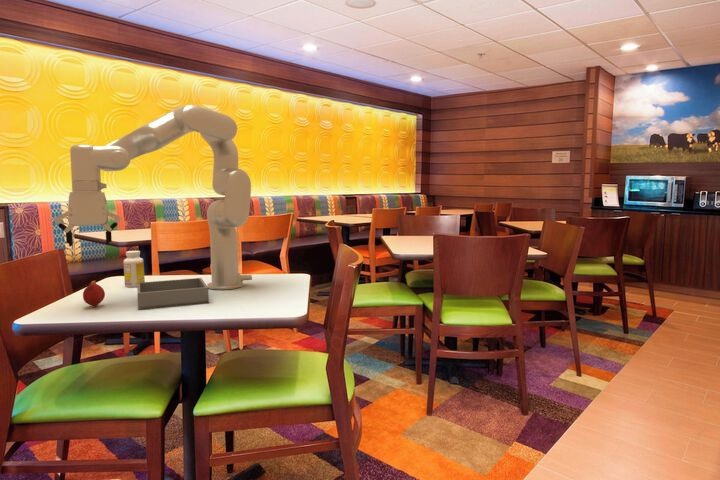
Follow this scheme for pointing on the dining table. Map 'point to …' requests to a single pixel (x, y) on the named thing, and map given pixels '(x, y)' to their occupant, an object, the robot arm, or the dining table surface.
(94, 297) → the onion
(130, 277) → the supplement bottle
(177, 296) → the bin
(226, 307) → the dining table surface
